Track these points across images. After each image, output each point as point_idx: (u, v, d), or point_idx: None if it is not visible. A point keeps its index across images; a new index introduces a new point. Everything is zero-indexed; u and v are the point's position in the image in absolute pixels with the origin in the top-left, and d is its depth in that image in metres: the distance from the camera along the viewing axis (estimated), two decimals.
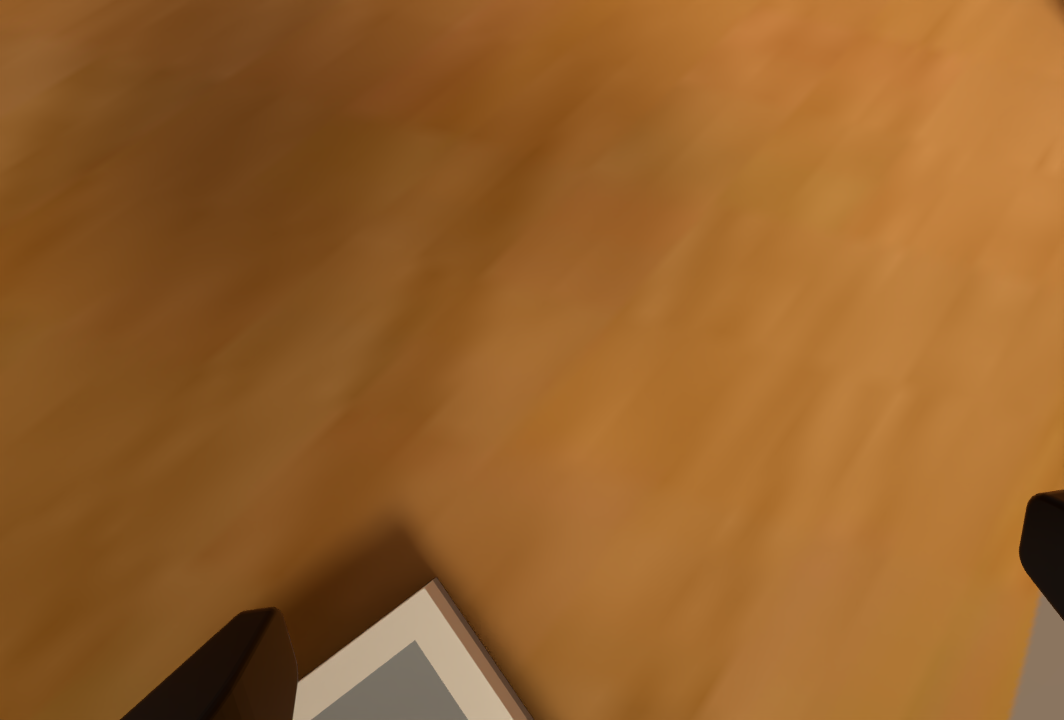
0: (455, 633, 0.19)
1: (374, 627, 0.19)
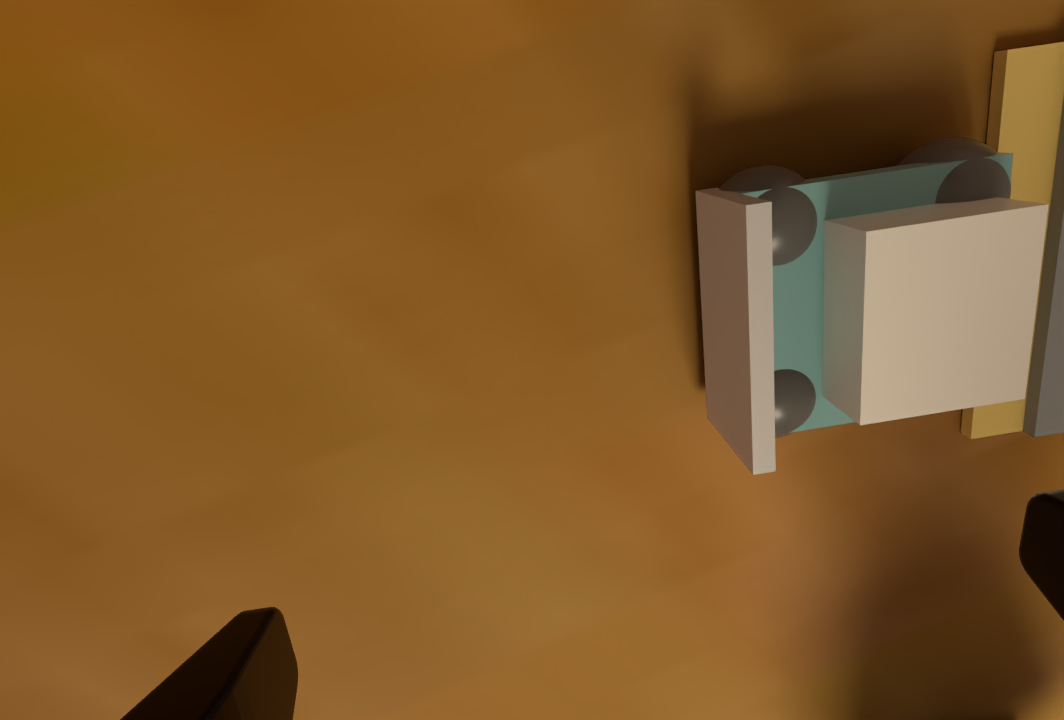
0: None
1: None
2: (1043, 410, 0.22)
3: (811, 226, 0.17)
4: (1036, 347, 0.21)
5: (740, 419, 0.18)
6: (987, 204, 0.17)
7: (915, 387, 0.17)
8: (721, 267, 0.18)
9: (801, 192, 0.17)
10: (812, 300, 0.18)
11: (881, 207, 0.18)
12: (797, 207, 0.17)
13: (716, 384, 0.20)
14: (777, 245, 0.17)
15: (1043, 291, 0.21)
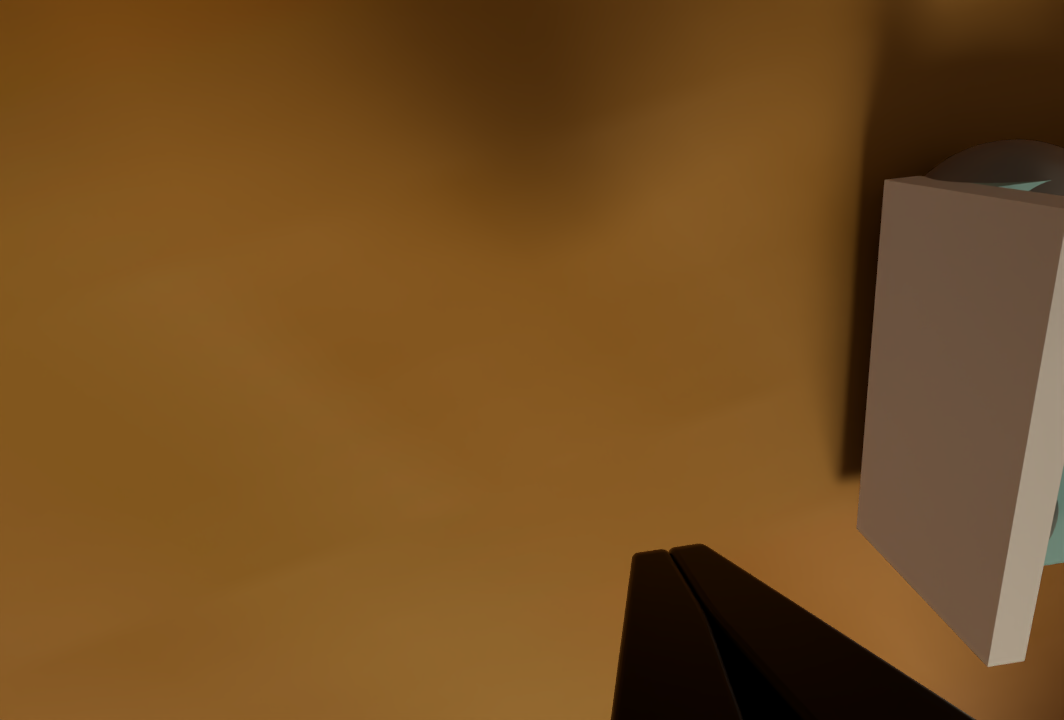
0: None
1: None
2: None
3: None
4: None
5: (961, 567, 0.11)
6: None
7: None
8: (947, 312, 0.10)
9: None
10: None
11: None
12: None
13: (892, 490, 0.12)
14: None
15: None
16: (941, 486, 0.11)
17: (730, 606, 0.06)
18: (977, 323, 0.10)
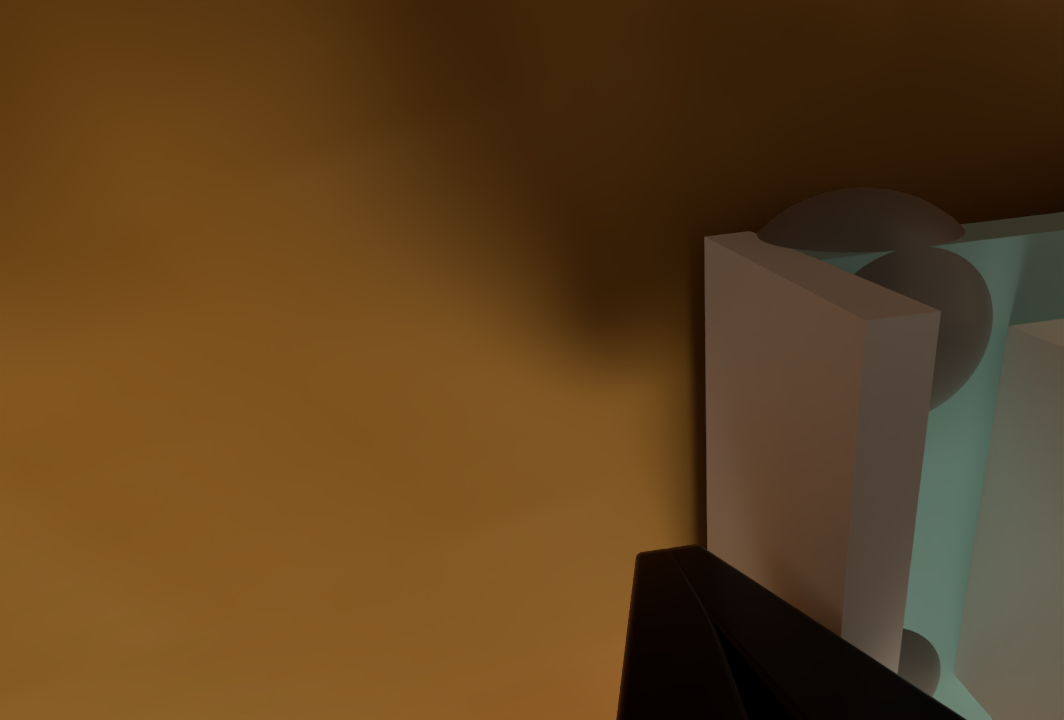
0: None
1: None
2: None
3: (981, 341, 0.07)
4: None
5: None
6: None
7: None
8: (762, 427, 0.07)
9: (965, 259, 0.07)
10: (958, 495, 0.08)
11: None
12: (957, 298, 0.07)
13: None
14: None
15: None
16: None
17: (725, 607, 0.06)
18: (788, 453, 0.07)
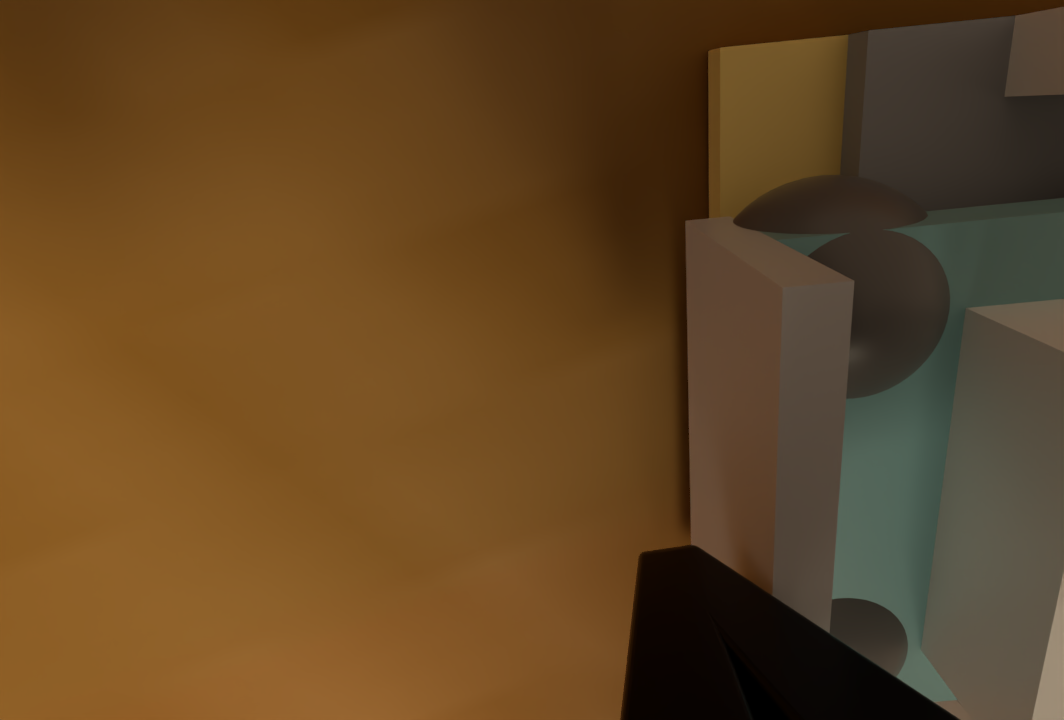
0: None
1: None
2: None
3: (936, 321, 0.08)
4: None
5: None
6: None
7: None
8: (723, 397, 0.08)
9: (920, 243, 0.07)
10: (920, 472, 0.08)
11: None
12: (908, 279, 0.07)
13: None
14: (855, 360, 0.08)
15: None
16: None
17: (721, 608, 0.06)
18: (739, 418, 0.07)
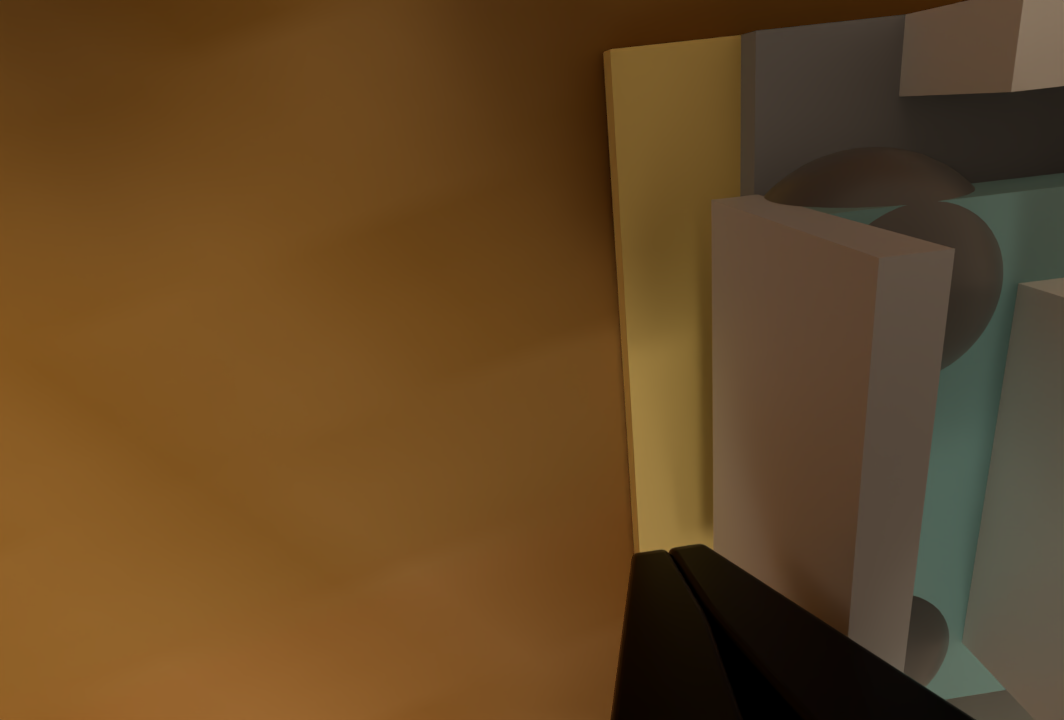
0: None
1: None
2: None
3: (991, 298, 0.07)
4: None
5: None
6: None
7: None
8: (771, 386, 0.07)
9: (975, 214, 0.07)
10: (967, 457, 0.08)
11: None
12: (967, 253, 0.07)
13: None
14: None
15: None
16: None
17: (730, 606, 0.06)
18: (798, 408, 0.07)
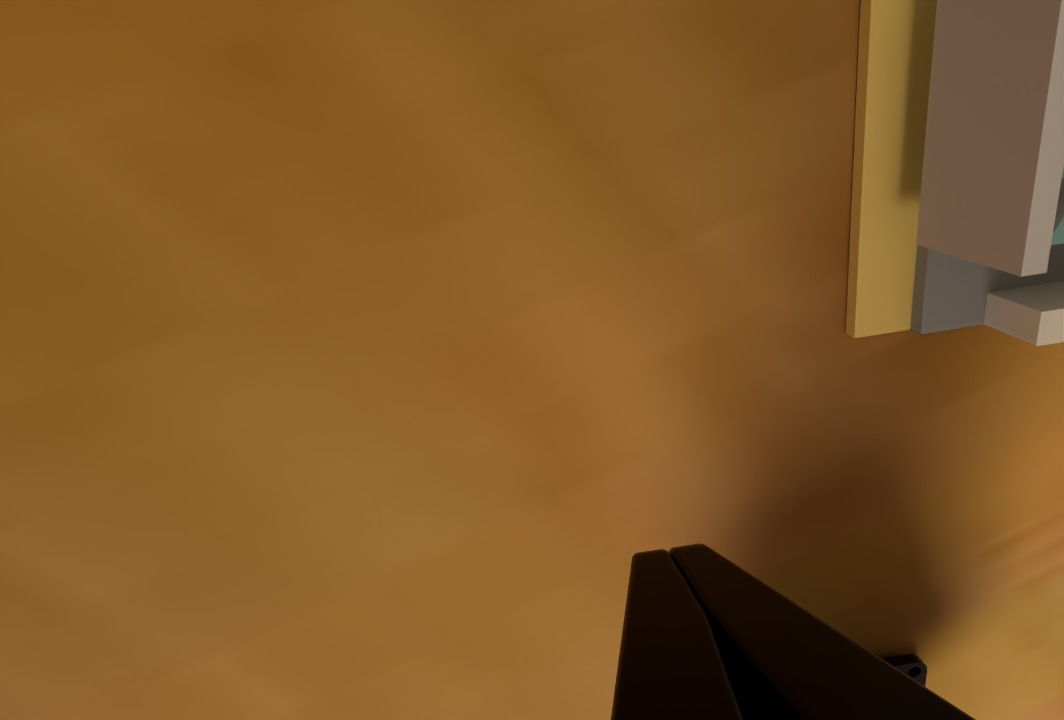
0: None
1: None
2: (929, 303, 0.20)
3: None
4: None
5: (1001, 215, 0.15)
6: None
7: None
8: (991, 28, 0.15)
9: None
10: None
11: None
12: None
13: (946, 193, 0.17)
14: None
15: None
16: (986, 163, 0.16)
17: (730, 606, 0.06)
18: (1013, 23, 0.14)
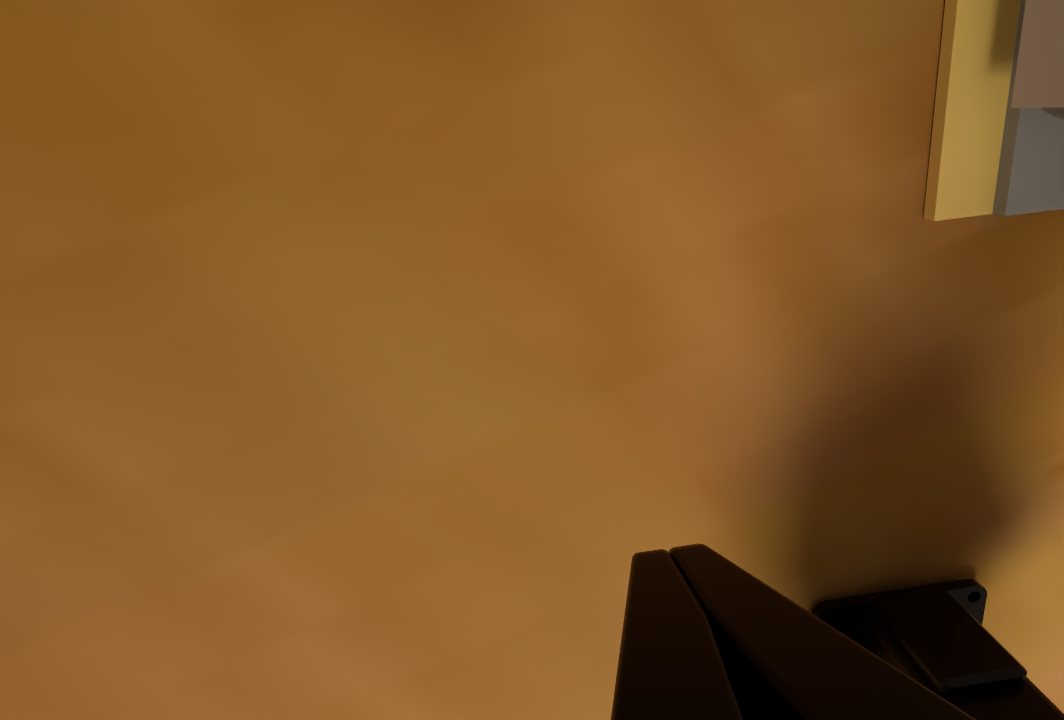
0: None
1: None
2: (1016, 182, 0.19)
3: None
4: None
5: None
6: None
7: None
8: None
9: None
10: None
11: None
12: None
13: (1052, 40, 0.16)
14: None
15: (1021, 32, 0.18)
16: None
17: (730, 606, 0.06)
18: None
